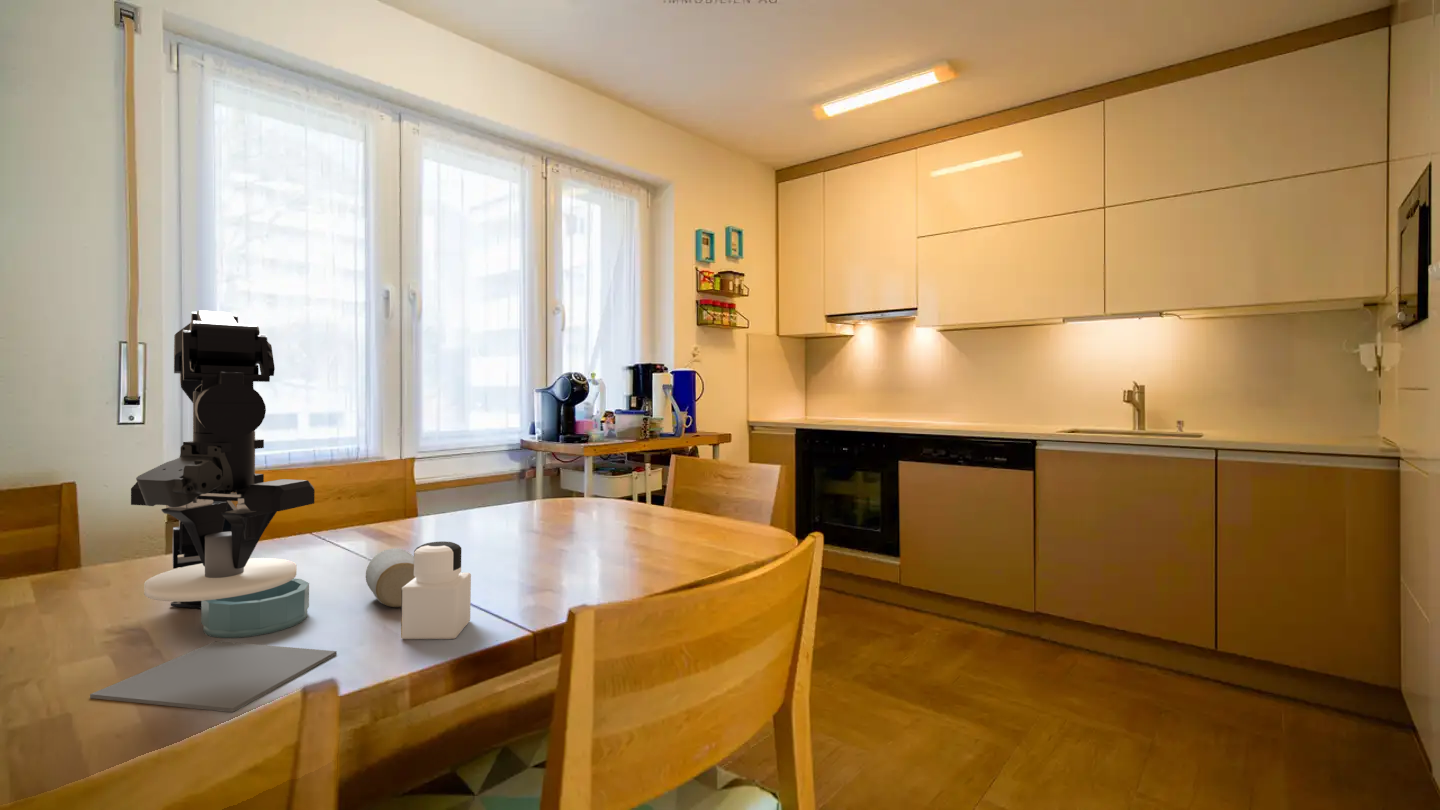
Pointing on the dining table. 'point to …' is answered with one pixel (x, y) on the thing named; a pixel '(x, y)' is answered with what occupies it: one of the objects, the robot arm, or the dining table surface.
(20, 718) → the dining table surface
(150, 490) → the robot arm
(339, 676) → the dining table surface
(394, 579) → the ceramic mug
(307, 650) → the mat
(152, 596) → the lid
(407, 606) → the medicine bottle
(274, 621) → the bowl
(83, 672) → the dining table surface
